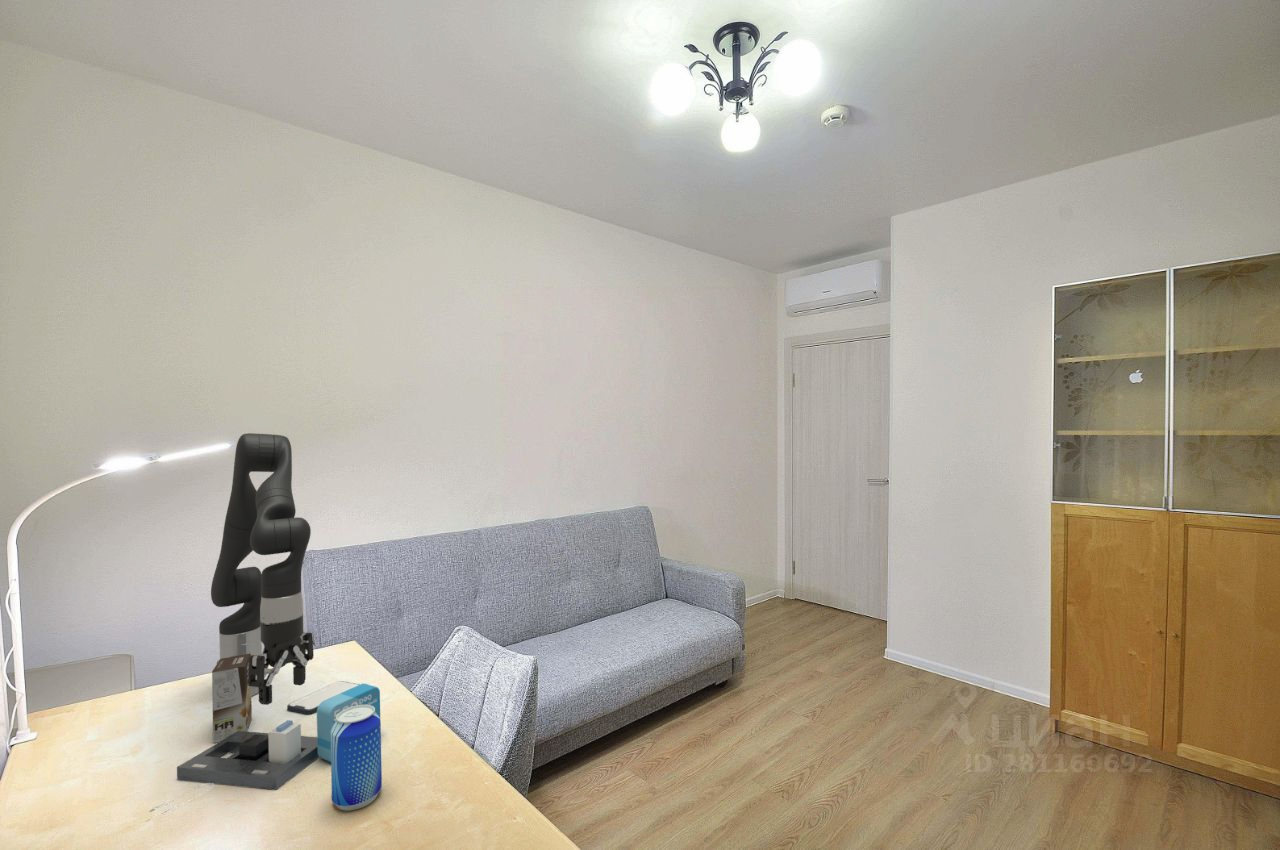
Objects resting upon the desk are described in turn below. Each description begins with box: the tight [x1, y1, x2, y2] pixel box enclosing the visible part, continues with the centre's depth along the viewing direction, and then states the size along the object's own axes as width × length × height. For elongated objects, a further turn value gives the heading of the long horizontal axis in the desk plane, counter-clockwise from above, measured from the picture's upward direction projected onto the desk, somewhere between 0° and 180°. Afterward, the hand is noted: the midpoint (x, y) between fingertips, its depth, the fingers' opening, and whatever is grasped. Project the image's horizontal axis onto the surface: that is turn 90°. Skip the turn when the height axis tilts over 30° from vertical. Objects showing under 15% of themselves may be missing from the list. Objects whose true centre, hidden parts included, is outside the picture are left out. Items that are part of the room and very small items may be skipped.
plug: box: [267, 719, 302, 764], centre depth 118 cm, size 4×4×9 cm
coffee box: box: [211, 654, 253, 744], centre depth 133 cm, size 9×6×16 cm
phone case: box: [286, 680, 361, 716], centre depth 148 cm, size 9×2×16 cm
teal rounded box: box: [316, 683, 381, 763], centre depth 124 cm, size 12×4×12 cm, turn 152°
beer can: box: [330, 705, 383, 812], centre depth 107 cm, size 8×8×16 cm
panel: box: [176, 730, 320, 791], centre depth 119 cm, size 23×14×5 cm, turn 80°
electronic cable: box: [148, 783, 215, 816], centre depth 108 cm, size 4×10×1 cm, turn 154°
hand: (283, 693), depth 118 cm, fingers open, 8 cm apart
